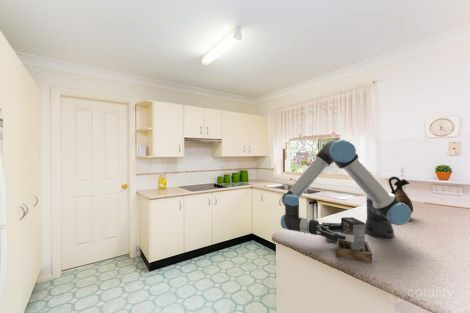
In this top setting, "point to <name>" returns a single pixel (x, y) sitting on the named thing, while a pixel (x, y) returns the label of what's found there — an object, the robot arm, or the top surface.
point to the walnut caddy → (354, 253)
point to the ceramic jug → (401, 192)
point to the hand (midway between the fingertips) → (355, 234)
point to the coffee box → (353, 233)
